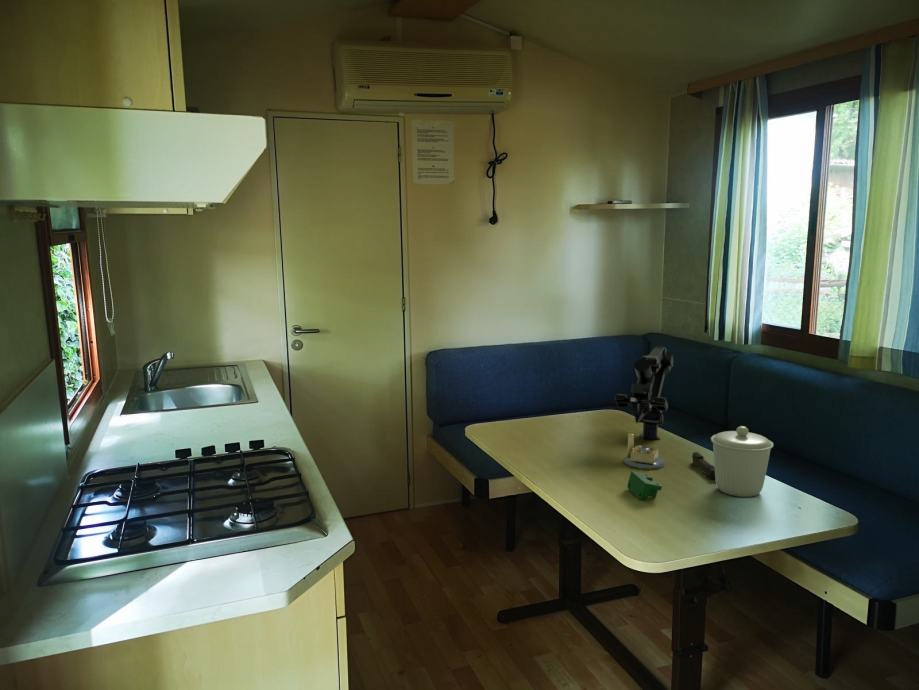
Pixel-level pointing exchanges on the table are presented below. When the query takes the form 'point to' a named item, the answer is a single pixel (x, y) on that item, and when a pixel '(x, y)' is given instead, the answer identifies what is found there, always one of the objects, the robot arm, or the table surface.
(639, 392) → the robot arm
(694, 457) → the dark brown log
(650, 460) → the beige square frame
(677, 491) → the table surface
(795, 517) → the table surface
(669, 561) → the table surface
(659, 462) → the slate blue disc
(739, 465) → the canister
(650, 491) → the green mounting bracket
